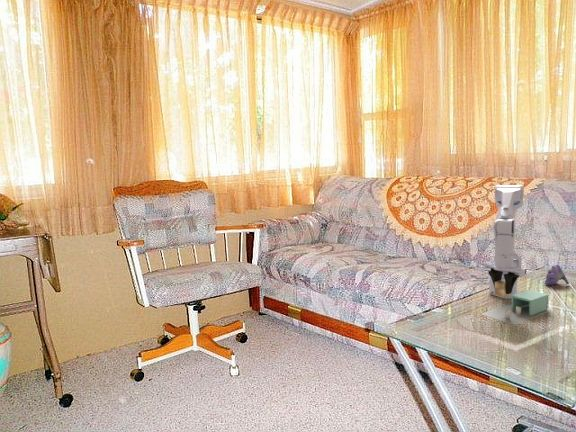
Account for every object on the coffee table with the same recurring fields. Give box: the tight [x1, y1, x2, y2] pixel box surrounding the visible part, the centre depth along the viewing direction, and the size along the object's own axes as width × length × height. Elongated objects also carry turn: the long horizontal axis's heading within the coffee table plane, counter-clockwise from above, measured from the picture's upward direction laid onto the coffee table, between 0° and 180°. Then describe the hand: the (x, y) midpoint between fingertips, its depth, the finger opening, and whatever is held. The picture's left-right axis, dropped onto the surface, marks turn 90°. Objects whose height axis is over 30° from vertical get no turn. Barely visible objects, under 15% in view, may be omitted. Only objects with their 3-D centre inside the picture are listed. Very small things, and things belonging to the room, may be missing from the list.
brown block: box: [494, 280, 511, 298], centre depth 162 cm, size 4×4×5 cm
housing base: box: [480, 303, 552, 326], centre depth 163 cm, size 13×22×4 cm, turn 121°
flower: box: [543, 264, 570, 286], centre depth 196 cm, size 9×9×10 cm
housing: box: [510, 289, 549, 316], centre depth 164 cm, size 7×10×5 cm
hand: (503, 291), depth 162 cm, fingers closed on brown block, 4 cm apart
